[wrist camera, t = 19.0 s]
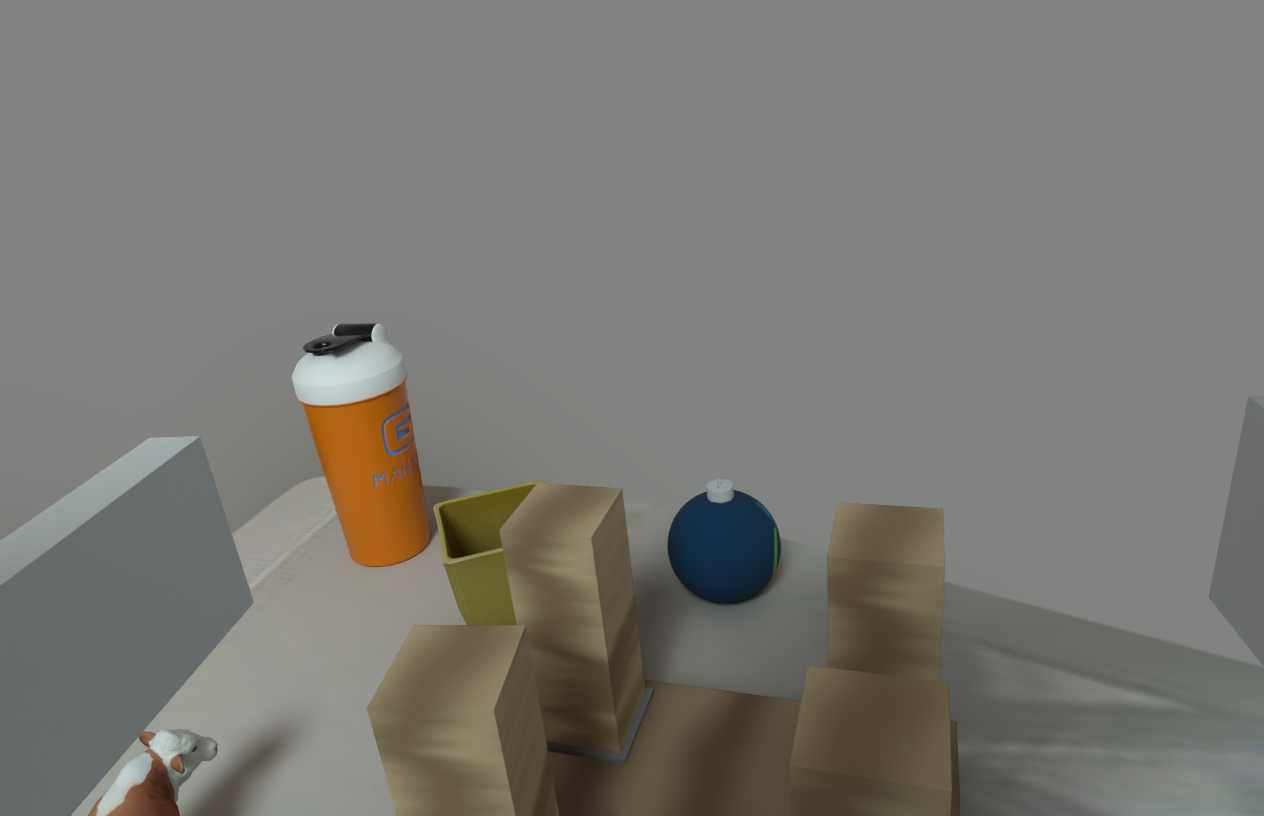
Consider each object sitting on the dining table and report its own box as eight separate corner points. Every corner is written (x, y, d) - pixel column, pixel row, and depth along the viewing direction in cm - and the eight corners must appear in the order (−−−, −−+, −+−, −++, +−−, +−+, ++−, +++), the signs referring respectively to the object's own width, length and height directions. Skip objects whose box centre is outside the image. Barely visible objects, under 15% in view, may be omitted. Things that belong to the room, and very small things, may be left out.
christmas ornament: (760, 637, 61) (754, 514, 57) (653, 612, 65) (641, 495, 61) (796, 572, 68) (793, 458, 64) (698, 553, 72) (689, 444, 68)
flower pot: (586, 638, 63) (570, 532, 60) (466, 670, 61) (443, 562, 58) (560, 575, 71) (545, 477, 67) (453, 601, 69) (432, 503, 65)
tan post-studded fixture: (953, 762, 50) (970, 497, 43) (968, 1170, 32) (1000, 833, 25) (564, 705, 57) (525, 471, 50) (404, 1011, 40) (313, 717, 33)
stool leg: (567, 860, 42) (525, 625, 37) (545, 960, 38) (493, 709, 32) (468, 856, 43) (413, 625, 38) (435, 954, 39) (366, 708, 33)
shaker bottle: (322, 574, 75) (260, 355, 67) (364, 520, 83) (313, 319, 75) (421, 573, 73) (370, 350, 65) (454, 518, 81) (412, 313, 73)
